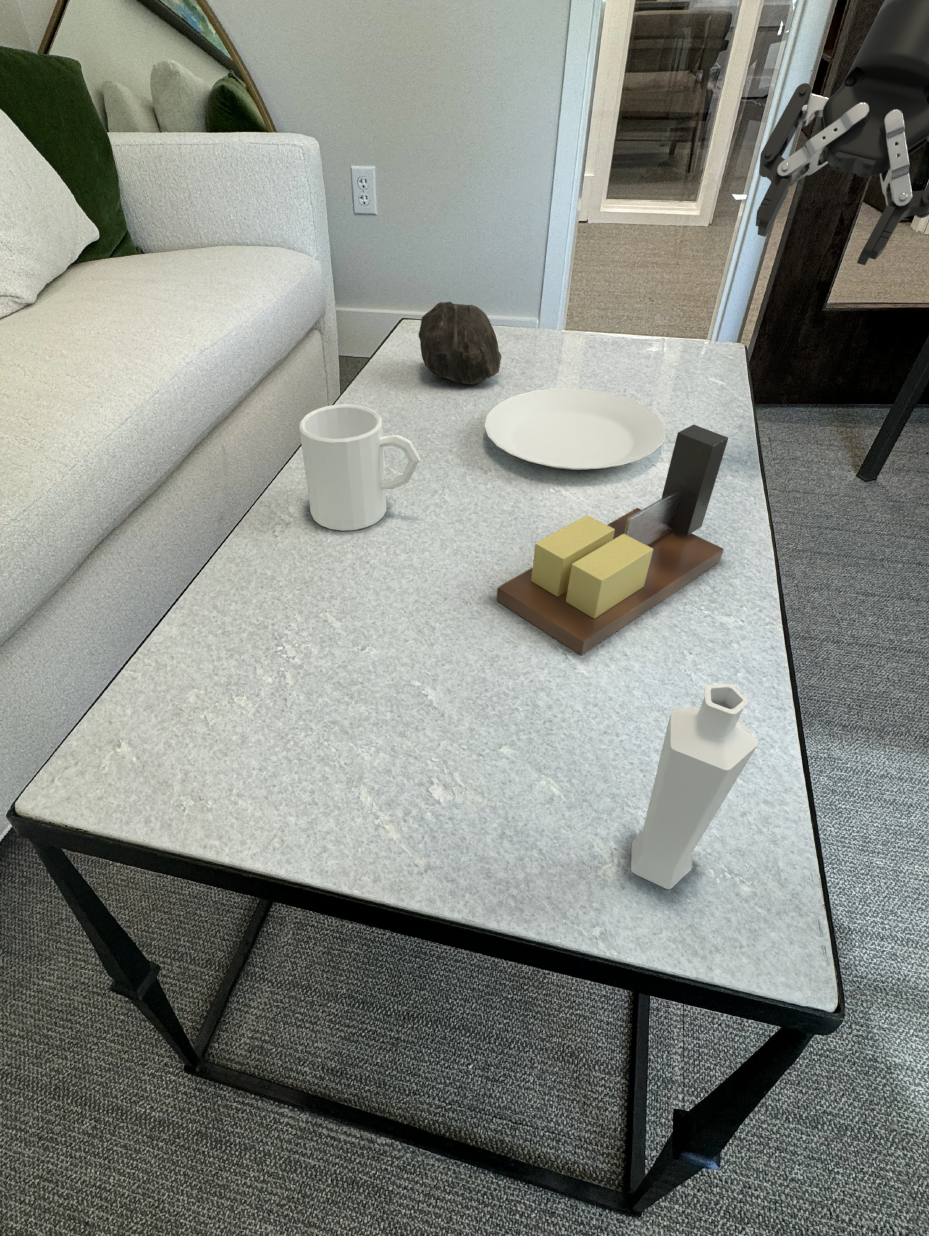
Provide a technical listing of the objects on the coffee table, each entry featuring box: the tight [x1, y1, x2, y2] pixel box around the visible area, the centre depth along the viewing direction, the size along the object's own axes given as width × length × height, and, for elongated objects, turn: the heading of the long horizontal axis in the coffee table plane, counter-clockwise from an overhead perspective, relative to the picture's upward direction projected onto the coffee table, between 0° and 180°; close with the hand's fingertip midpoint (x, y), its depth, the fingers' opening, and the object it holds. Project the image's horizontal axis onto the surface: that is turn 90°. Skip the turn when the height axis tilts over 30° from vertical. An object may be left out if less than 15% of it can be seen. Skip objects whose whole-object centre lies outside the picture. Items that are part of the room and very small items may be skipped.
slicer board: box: [496, 507, 725, 656], centre depth 67 cm, size 20×10×2 cm, turn 130°
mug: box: [298, 403, 421, 532], centre depth 74 cm, size 8×12×10 cm
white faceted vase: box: [630, 683, 760, 890], centre depth 41 cm, size 5×4×15 cm
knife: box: [624, 424, 729, 545], centre depth 66 cm, size 10×4×9 cm, turn 130°
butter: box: [531, 514, 653, 619], centre depth 64 cm, size 7×7×4 cm
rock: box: [418, 301, 502, 385], centre depth 99 cm, size 10×11×10 cm
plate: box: [483, 387, 667, 471], centre depth 86 cm, size 21×21×2 cm
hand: (811, 246), depth 61 cm, fingers open, 8 cm apart
